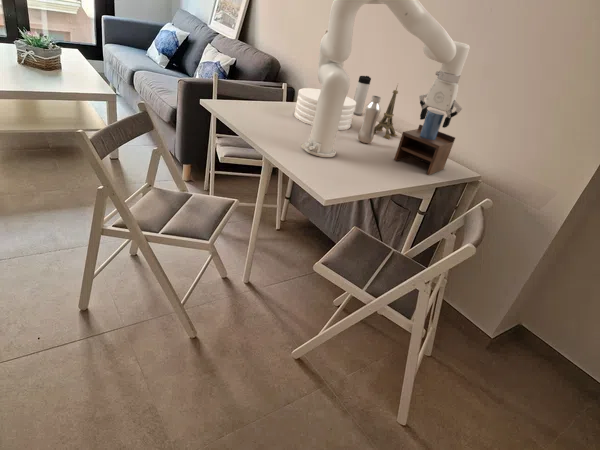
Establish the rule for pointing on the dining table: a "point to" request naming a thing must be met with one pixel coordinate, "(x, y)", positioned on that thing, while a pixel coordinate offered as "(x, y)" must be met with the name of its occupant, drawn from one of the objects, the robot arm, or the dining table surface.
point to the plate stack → (309, 102)
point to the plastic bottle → (370, 120)
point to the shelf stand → (425, 149)
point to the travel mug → (361, 94)
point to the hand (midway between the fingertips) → (433, 123)
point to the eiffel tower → (388, 115)
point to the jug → (431, 124)
